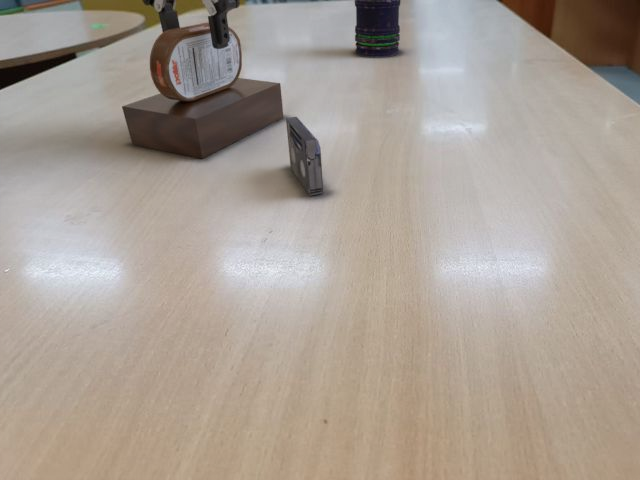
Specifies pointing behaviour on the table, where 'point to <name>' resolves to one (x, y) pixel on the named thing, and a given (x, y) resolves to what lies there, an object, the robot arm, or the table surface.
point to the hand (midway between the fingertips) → (197, 45)
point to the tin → (193, 63)
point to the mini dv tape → (305, 156)
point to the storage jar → (377, 28)
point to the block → (204, 118)
